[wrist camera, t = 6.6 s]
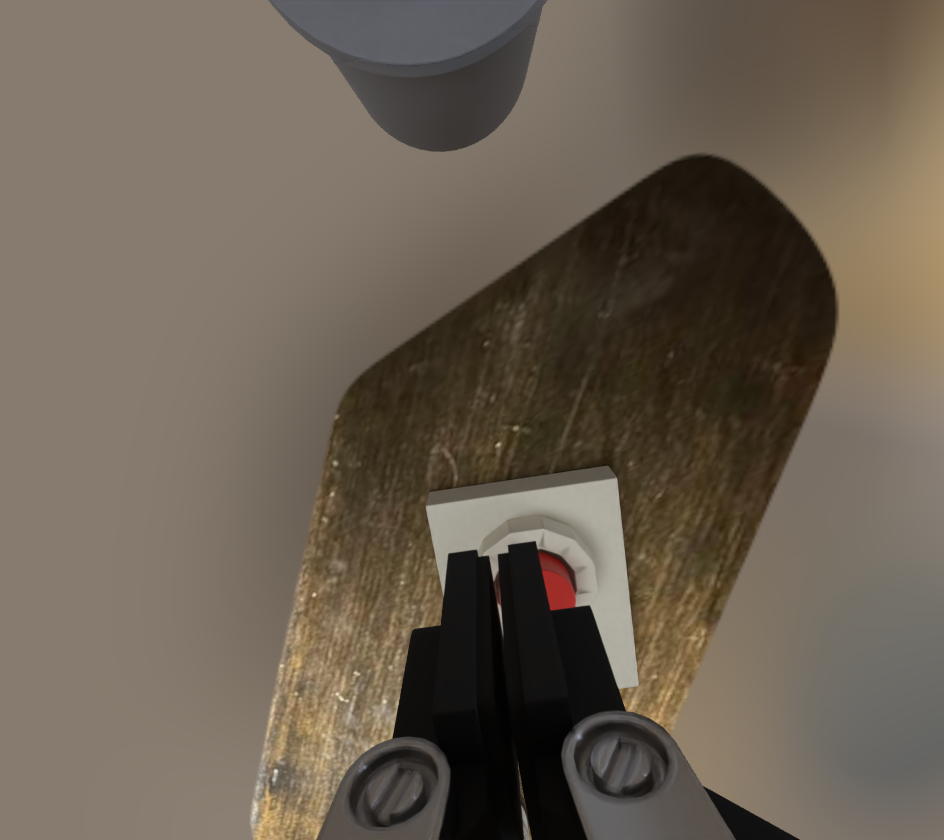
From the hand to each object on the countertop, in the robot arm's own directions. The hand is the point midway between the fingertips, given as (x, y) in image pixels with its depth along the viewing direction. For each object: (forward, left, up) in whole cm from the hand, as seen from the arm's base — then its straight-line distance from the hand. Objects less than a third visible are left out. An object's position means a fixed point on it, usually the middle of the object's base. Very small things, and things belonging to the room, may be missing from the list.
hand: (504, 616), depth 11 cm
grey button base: (+13, +1, -23) cm, 26 cm away
